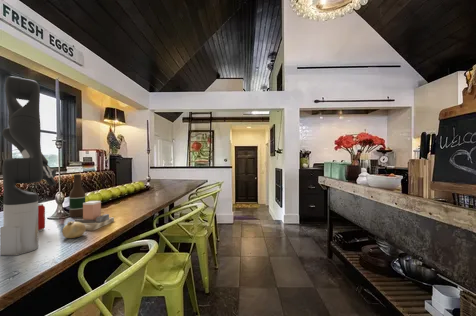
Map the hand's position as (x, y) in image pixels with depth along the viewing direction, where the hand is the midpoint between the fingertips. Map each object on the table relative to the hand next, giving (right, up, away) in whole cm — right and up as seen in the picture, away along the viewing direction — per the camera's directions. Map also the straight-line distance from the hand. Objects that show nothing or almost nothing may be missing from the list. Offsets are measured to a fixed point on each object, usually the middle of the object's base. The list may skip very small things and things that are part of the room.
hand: (53, 185), depth 117 cm
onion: (+23, -20, -18) cm, 35 cm away
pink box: (+19, -18, 0) cm, 26 cm away
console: (+19, -20, -1) cm, 27 cm away
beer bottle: (-1, -20, +19) cm, 27 cm away
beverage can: (-1, -20, -10) cm, 22 cm away
